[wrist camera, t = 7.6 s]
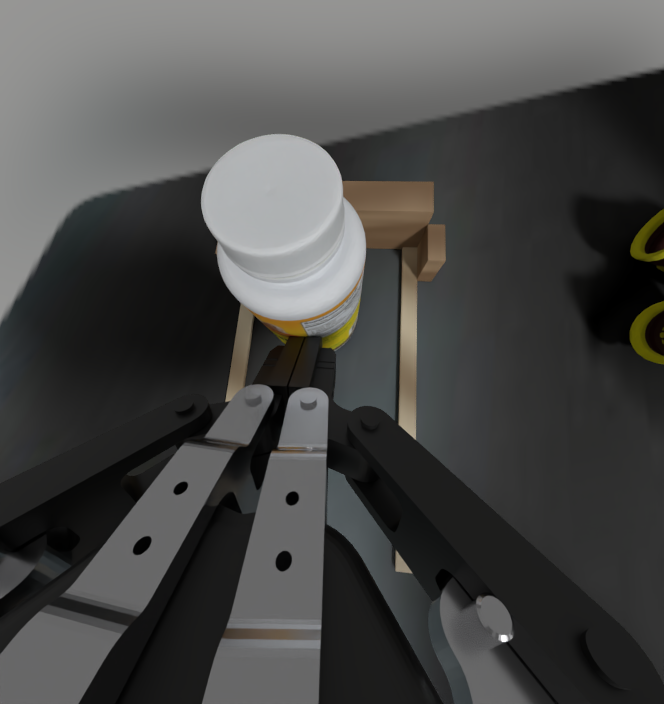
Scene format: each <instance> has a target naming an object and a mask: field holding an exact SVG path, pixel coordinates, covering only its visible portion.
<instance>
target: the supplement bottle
mask: <svg viewBox="0 0 664 704" xmlns="http://www.w3.org/2000/svg"><path fill="white" fill-rule="evenodd" d="M201 208H202V213H203V217H204V220H205V222H206V224H207V226H208V228H209V230H210V231H211V233H212V234H213V236H214V237H215V238H216V240H217V241H218V245H217V260H218V266H219V269H220V273H221V276H222V278H223V280H224V282H225V284H226V286H227V287H228V289H229V290H230V292H231V293H232V294H233V295H234V296H235V297H236V298H237V300H238V301H239V302H240V303H241V304H243V305H244V306H245V307H246V308H247V309H248V310H249V311H250V312H251V313H252V314H253V315H254V316H255V317H256V318H257V319H258V320H260V321H261V322H262V323H263V324H264V325H265V326H266V327H267V328H268V329H269V330H270V331H271V332H272V333H274V334H275V335H276V336H277V337H278V338H279V339H280V340H281V341H282V342H283V343H284V344H286V342H287V340H288V338H289V336H305V337H306V336H307V337H322V348H332V349H333V351H335V350H337V349H339V348H340V347H341V346H342V345H344V344H345V343H346V342H347V341H348V339H349V338H350V337H351V335H352V333H353V331H354V329H355V326H356V323H357V318H358V311H359V304H360V296H361V290H362V280H363V273H364V265H365V257H366V238H365V232H364V228H363V225H362V222H361V220H360V218H359V216H358V214H357V212H356V211H355V209H354V208H353V206H352V205H351V204H350V203H349V202H348V201H347V200H346V199H345V198H344V197H343V184H342V178H341V175H340V172H339V170H338V168H337V166H336V164H335V162H334V161H333V159H332V158H331V157H330V155H329V154H328V153H327V152H326V151H325V150H324V149H322V148H321V147H320V146H319V145H317V144H315V143H313V142H311V141H309V140H307V139H304V138H301V137H297V136H293V135H287V134H270V135H264V136H260V137H256V138H253V139H250V140H247V141H245V142H243V143H241V144H238V145H237V146H235V147H234V148H232V149H231V150H229V151H228V152H227V153H226V154H224V155H223V156H222V157H221V158H220V159H219V160H218V161H217V162H216V164H215V165H214V166H213V167H212V169H211V170H210V172H209V174H208V176H207V178H206V180H205V183H204V186H203V190H202V195H201Z"/></svg>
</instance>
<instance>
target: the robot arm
mask: <svg viewBox="0 0 664 704" xmlns="http://www.w3.org/2000/svg"><path fill="white" fill-rule="evenodd" d="M335 372H336V354H335V352H334V351H333V349H332V348H322V337H307V336H306V337H305V336H289V338H288V340H287V342H286V344H285V346H277V347H275V348H274V349H273V350H271V351H270V353H269V355H268V356H267V358H266V360H265V362H264V364H263V366H262V367H261V369H260V371H259V373H258V375H257V376H256V378H255V380H254V382H253V384H252V385H250V386H247V387H244V388H242V389H241V390H239V391H238V392H237V393H236V394H235V395H234V397H233V398H232V400H231V401H227V402H222V403H216V404H210V405H209V403H208V400H207V398H206V397H204V396H202V395H199V394H191V395H186V396H182V397H180V398H177V399H175V400H173V401H171V402H169V403H167V404H165V405H163V406H161V407H159V408H157V409H154V410H152V411H150V412H148V413H146V414H144V415H142V416H140V417H138V418H136V419H134V420H132V421H129V422H127V423H125V424H123V425H121V426H119V427H117V428H115V429H113V430H111V431H109V432H106V433H104V434H102V435H100V436H98V437H96V438H94V439H92V440H90V441H88V442H86V443H84V444H81V445H79V446H77V447H75V448H73V449H71V450H69V451H67V452H65V453H63V454H61V455H59V456H56V457H54V458H52V459H50V460H48V461H46V462H44V463H42V464H40V465H38V466H36V467H33V468H31V469H29V470H27V471H25V472H23V473H21V474H19V475H17V476H15V477H13V478H11V479H8V480H6V481H4V482H2V483H0V704H443V703H442V701H441V699H440V697H439V695H438V694H437V692H436V690H435V688H434V686H433V685H432V683H431V681H430V679H429V678H428V676H427V674H426V672H425V670H424V669H423V667H422V665H421V663H420V661H419V660H418V658H417V656H416V654H415V653H414V651H413V649H412V647H411V645H410V644H409V642H408V640H407V638H406V636H405V635H404V633H403V631H402V629H401V627H400V626H399V624H398V622H397V620H396V619H395V617H394V615H393V613H392V611H391V610H390V608H389V606H388V604H387V602H386V601H385V599H384V597H383V595H382V594H381V592H380V590H379V588H378V586H377V585H376V583H375V581H374V579H373V577H372V576H371V574H370V572H369V570H368V568H367V567H366V565H365V563H364V561H363V560H362V558H361V556H360V555H359V553H358V552H357V551H356V549H355V548H354V547H353V545H352V544H351V543H350V542H349V541H348V540H347V539H346V538H345V537H344V536H343V535H342V534H341V533H339V532H338V531H337V530H335V529H334V528H332V527H331V526H329V525H327V495H328V468H330V469H333V470H335V471H337V472H339V473H342V474H344V475H345V477H346V480H347V481H348V483H349V484H350V486H351V487H352V489H353V490H354V491H355V493H356V494H357V496H358V497H359V499H360V500H361V501H362V503H363V504H364V506H365V507H366V508H367V510H368V511H369V513H370V514H371V515H372V517H373V518H374V520H375V521H376V522H377V524H378V525H379V527H380V528H381V529H382V531H383V532H384V534H385V535H386V536H387V538H388V539H389V541H390V542H391V543H392V545H393V546H394V548H395V549H396V551H397V552H398V553H399V555H400V556H401V558H402V559H403V560H404V562H405V563H406V565H407V566H408V567H409V569H410V570H411V572H412V573H413V574H414V576H415V577H416V579H417V580H418V581H419V583H420V584H421V586H422V587H423V588H424V590H425V591H426V593H427V594H428V595H429V597H430V598H431V600H432V601H433V602H432V604H431V606H430V610H429V615H428V628H429V634H430V639H431V643H432V646H433V648H434V651H435V654H436V656H437V658H438V660H439V661H440V663H441V665H442V667H443V669H444V671H445V674H446V676H447V679H448V681H449V684H450V688H451V691H452V696H453V701H454V704H664V684H663V682H662V680H661V678H660V676H659V674H658V673H657V671H656V669H655V667H654V666H653V664H652V663H651V661H650V660H649V658H648V657H647V655H646V654H645V652H644V651H643V650H642V649H641V647H640V646H639V645H638V643H637V642H636V641H635V640H634V639H633V638H632V636H631V635H630V634H629V633H628V632H627V631H626V630H625V629H624V628H623V627H622V626H621V625H620V624H619V623H618V622H617V621H616V620H615V619H613V618H612V617H611V616H610V615H609V614H608V613H607V612H606V611H605V610H603V609H602V608H601V607H600V606H599V605H598V604H597V603H596V602H595V601H594V600H592V599H591V598H590V597H589V596H588V595H587V594H586V593H585V592H584V591H582V590H581V589H580V588H579V587H578V586H577V585H576V584H575V583H574V582H572V581H571V580H570V579H569V578H568V577H567V576H566V575H565V574H564V573H562V572H561V571H560V570H559V569H558V568H557V567H556V566H555V565H554V564H553V563H551V562H550V561H549V560H548V559H547V558H546V557H545V556H544V555H543V554H541V553H540V552H539V551H538V550H537V549H536V548H535V547H534V546H533V545H531V544H530V543H529V542H528V541H527V540H526V539H525V538H524V537H523V536H522V535H520V534H519V533H518V532H517V531H516V530H515V529H514V528H513V527H512V526H510V525H509V524H508V523H507V522H506V521H505V520H504V519H503V518H502V517H500V516H499V515H498V514H497V513H496V512H495V511H494V510H493V509H492V508H490V507H489V506H488V505H487V504H486V503H485V502H484V501H483V500H482V499H481V498H479V497H478V496H477V495H476V494H475V493H474V492H473V491H472V490H471V489H469V488H468V487H467V486H466V485H465V484H464V483H463V482H462V481H461V480H459V479H458V478H457V477H456V476H455V475H454V474H453V473H452V472H451V471H450V470H448V469H447V468H446V467H445V466H444V465H443V464H442V463H441V462H440V461H438V460H437V459H436V458H435V457H434V456H433V455H432V454H431V453H430V452H428V451H427V450H426V449H425V448H424V447H423V446H422V445H421V444H420V443H418V442H417V441H416V440H415V439H414V438H413V437H412V436H411V435H410V434H409V433H407V432H406V431H405V430H404V429H403V428H402V427H401V426H400V425H399V424H397V423H396V422H395V421H394V420H393V419H392V418H391V417H390V416H389V415H387V414H386V413H385V412H384V411H382V410H381V409H378V408H376V407H371V406H362V407H359V408H356V409H355V410H353V411H352V412H351V411H348V410H345V409H343V408H341V407H339V406H338V405H337V404H336V403H335V402H334V401H333V397H334V388H335ZM174 445H176V447H177V449H178V451H177V452H176V453H175V454H173V455H171V456H170V457H168V458H166V459H165V460H163V461H161V462H160V463H158V464H156V465H155V466H153V467H151V468H150V469H148V470H147V471H145V472H143V473H141V474H139V475H136V476H128V475H126V474H127V473H128V472H129V471H131V470H133V469H134V468H136V467H138V466H139V465H141V464H143V463H145V462H146V461H148V460H150V459H151V458H153V457H155V456H156V455H158V454H160V453H162V452H163V451H165V450H167V449H168V448H170V447H172V446H174Z"/></svg>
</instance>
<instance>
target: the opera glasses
mask: <svg viewBox="0 0 664 704" xmlns="http://www.w3.org/2000/svg"><path fill="white" fill-rule="evenodd" d="M630 253H631V256H632V257H633V258H635V259H637V260H641V261H646V262H650V263H651V264H653V265H655V266H656V267H657V268H658V269H660V270H661V271H663V272H664V209H663V210H661V211H660V212H659V213H658V214H656V215H655V216H654V217H653V218H652V219H650V220H649V221H648V222H647V223H646V224H645V226H644V227H643V228H642V229H641V230H640V231H639V233H638V234H637V235H636V237H635V238H634V240H633V242H632V244H631V249H630ZM630 342H631V344H632V346H633V348H634V350H635V351H636V352H637V353H638V354H639V355H640V356H642V357H643V358H645V359H646V360H649V361H652V362H655V363H659V364H664V301H662V302H659V303H656V304H653V305H652V306H650V307H648V308H647V309H645V310H644V311H642V312H641V313H640V314H639V315H638V316H637V317H636V319H635V320H634V322H633V323H632V326H631V329H630Z"/></svg>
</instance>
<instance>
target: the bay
mask: <svg viewBox="0 0 664 704" xmlns="http://www.w3.org/2000/svg"><path fill="white" fill-rule="evenodd" d="M342 184H343V197H344V198H345V199H346V200H347V201H348V202H349V203H350V204H351V205H352V206H353V208H354V209H355V211H356V212H357V214H358V216H359V218H360V220H361V222H362V225H363V228H364V232H365V238H366V248H379V249H402V273H401V318H400V364H399V409H398V424H399V425H400V426H401V427H402V428H403V429H404V430H405V431H406V432H407V433H409V434H410V435H411V436H412V437H413V438H414V439H415V440H416V351H417V281H432V279H433V278H434V277H435V275H436V274H437V272H438V271H439V269H440V268H441V267H442V265H443V264H444V262H445V261H446V255H445V225H433V224H428V223H429V221H430V219H431V217H432V215H433V212H434V182H390V181H342ZM217 245H218V242H217ZM216 254H217V247H216ZM253 323H254V315H253V314H252V313H251V312H250V311H249V310H248V309H247V308H246V307H245V306H244V305H243V304H241V306H240V312H239V318H238V325H237V331H236V337H235V344H234V350H233V356H232V363H231V369H230V375H229V382H228V388H227V395H226V401H225V402H227V401H231V400H232V398H233V397H234V395H235V394H236V393H237V392H238V391H239V390H241V389H242V388H244V386H245V379H246V372H247V365H248V358H249V351H250V344H251V337H252V330H253ZM395 570H396V572H404V573H412V572H411V570H410V569H409V567H408V566H407V565H406V563H405V562H404V560H403V559H402V558H401V556H400V555H399V553H398V552H397V551H396V549H395ZM412 574H413V573H412Z"/></svg>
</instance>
